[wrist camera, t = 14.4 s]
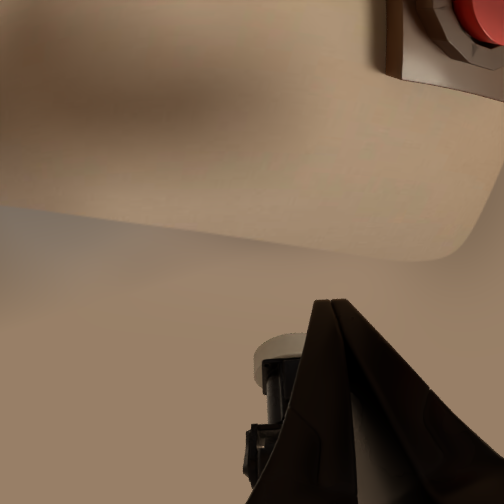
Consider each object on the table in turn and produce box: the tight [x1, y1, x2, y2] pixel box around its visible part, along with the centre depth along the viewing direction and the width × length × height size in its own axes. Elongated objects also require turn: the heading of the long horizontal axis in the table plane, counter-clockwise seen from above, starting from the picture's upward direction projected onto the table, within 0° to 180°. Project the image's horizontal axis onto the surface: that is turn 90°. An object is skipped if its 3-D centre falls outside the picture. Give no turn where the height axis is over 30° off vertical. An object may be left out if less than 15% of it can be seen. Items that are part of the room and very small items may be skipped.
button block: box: [386, 0, 504, 102], centre depth 11 cm, size 10×8×4 cm
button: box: [453, 0, 504, 46], centre depth 9 cm, size 4×4×2 cm
